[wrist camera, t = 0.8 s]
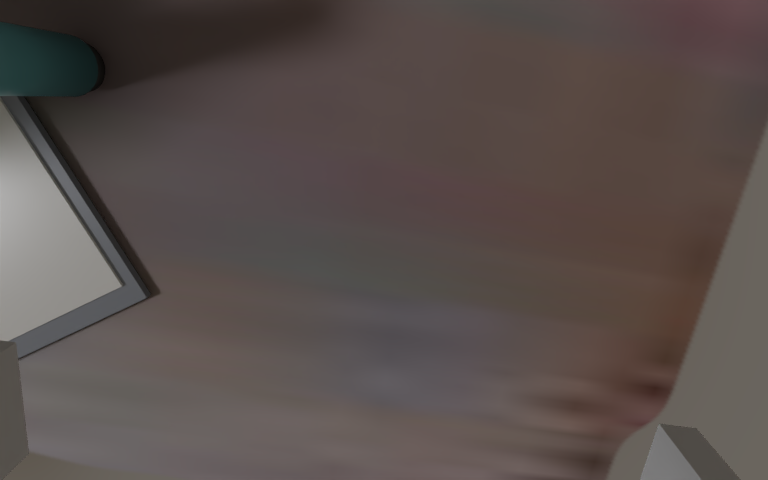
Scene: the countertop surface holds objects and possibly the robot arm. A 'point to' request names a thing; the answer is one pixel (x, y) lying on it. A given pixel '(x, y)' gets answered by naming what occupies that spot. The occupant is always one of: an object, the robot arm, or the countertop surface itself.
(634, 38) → the countertop surface
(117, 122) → the countertop surface
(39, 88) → the teal and grey cylinder
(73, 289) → the writing board
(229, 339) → the countertop surface
